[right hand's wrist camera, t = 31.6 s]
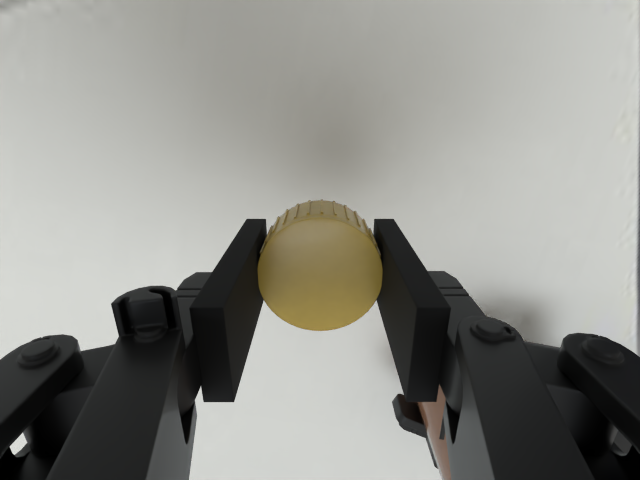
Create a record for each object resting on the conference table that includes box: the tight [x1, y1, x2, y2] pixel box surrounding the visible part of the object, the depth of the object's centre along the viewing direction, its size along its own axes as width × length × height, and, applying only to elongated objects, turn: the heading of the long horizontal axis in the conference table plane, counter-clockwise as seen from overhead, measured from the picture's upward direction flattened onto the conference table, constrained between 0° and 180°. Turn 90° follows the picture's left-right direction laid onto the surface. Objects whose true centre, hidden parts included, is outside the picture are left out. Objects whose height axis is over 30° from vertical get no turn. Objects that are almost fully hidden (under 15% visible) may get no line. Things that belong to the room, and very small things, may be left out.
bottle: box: [417, 384, 451, 480], centre depth 20 cm, size 5×5×24 cm
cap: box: [257, 200, 383, 331], centre depth 13 cm, size 4×4×2 cm
